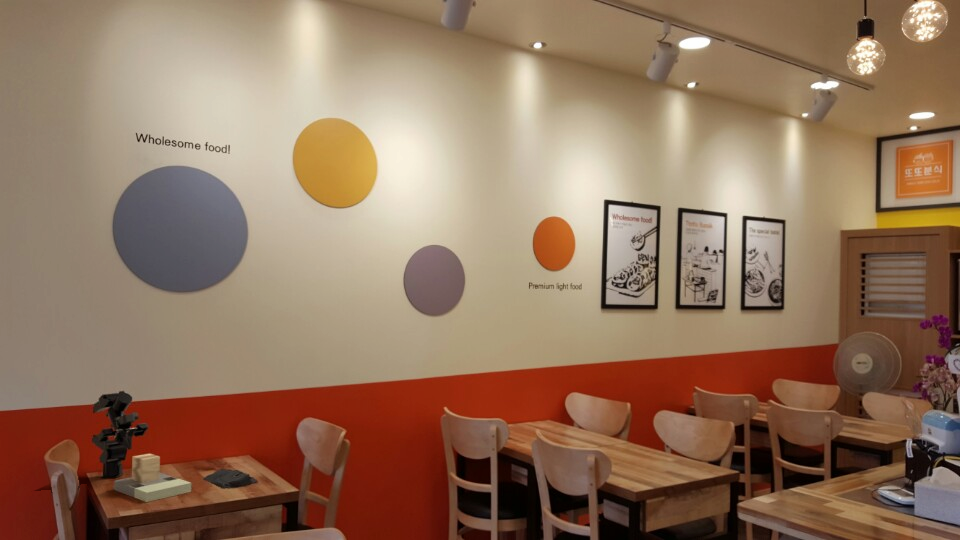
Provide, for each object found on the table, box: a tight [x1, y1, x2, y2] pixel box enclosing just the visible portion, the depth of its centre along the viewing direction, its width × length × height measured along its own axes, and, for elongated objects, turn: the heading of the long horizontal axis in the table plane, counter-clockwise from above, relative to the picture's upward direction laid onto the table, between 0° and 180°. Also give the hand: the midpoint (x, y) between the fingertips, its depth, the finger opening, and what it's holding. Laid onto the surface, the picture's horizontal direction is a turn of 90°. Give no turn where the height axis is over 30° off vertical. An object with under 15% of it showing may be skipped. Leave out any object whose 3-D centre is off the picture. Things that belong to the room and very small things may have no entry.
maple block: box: [131, 453, 161, 483], centre depth 283 cm, size 8×7×9 cm
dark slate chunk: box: [203, 468, 259, 490], centre depth 296 cm, size 15×22×5 cm
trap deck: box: [113, 471, 192, 503], centre depth 280 cm, size 25×18×4 cm
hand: (130, 449), depth 291 cm, fingers closed
